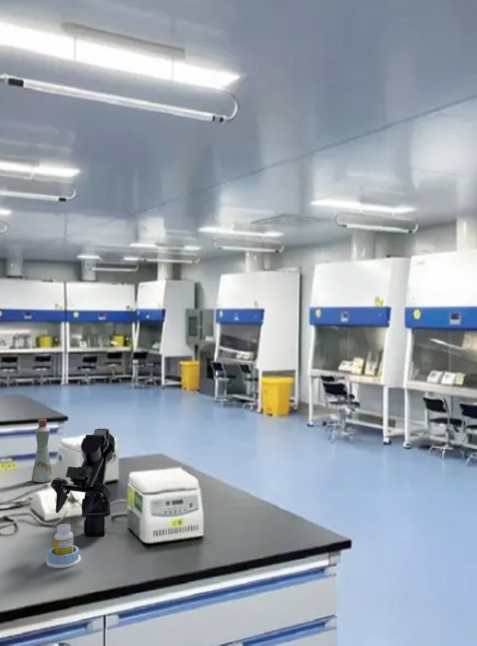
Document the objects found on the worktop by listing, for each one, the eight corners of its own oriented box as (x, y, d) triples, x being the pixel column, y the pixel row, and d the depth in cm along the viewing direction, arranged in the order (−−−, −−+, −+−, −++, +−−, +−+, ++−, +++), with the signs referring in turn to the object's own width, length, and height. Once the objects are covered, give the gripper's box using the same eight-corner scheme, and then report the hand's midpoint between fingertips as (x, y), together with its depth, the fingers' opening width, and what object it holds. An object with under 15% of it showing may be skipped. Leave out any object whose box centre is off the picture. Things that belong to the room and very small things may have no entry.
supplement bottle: (56, 555, 185) (56, 523, 185) (74, 554, 186) (74, 522, 186) (52, 562, 180) (52, 529, 180) (71, 561, 180) (71, 528, 180)
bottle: (27, 483, 266) (28, 418, 266) (37, 477, 275) (38, 415, 275) (46, 484, 265) (46, 419, 264) (55, 478, 273) (56, 416, 273)
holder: (82, 554, 188) (83, 543, 188) (78, 567, 178) (78, 556, 178) (49, 555, 187) (49, 544, 187) (43, 568, 177) (43, 557, 177)
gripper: (54, 452, 193) (31, 497, 183) (106, 458, 187) (86, 504, 177) (68, 471, 201) (47, 515, 190) (118, 477, 195) (100, 522, 185)
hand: (69, 514), depth 185 cm, fingers open, 9 cm apart
